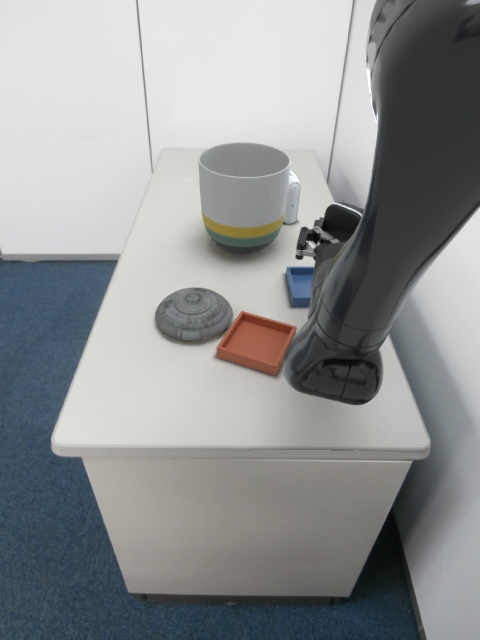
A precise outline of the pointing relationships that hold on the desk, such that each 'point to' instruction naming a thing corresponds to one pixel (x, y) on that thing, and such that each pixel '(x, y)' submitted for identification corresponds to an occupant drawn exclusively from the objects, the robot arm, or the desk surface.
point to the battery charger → (342, 219)
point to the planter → (243, 194)
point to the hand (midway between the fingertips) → (345, 225)
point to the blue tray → (300, 285)
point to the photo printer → (292, 199)
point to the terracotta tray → (256, 342)
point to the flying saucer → (193, 314)
